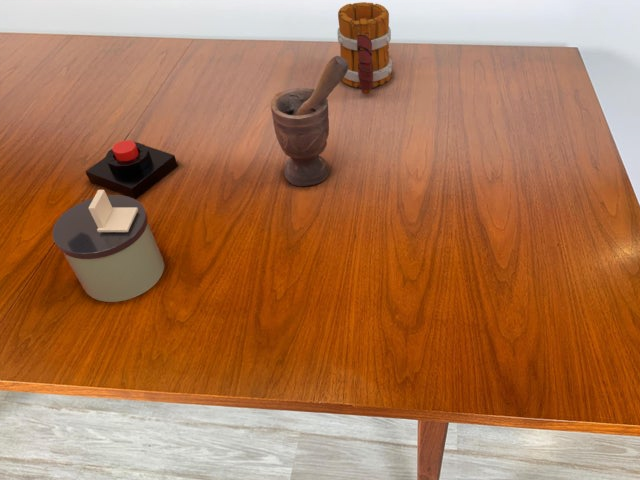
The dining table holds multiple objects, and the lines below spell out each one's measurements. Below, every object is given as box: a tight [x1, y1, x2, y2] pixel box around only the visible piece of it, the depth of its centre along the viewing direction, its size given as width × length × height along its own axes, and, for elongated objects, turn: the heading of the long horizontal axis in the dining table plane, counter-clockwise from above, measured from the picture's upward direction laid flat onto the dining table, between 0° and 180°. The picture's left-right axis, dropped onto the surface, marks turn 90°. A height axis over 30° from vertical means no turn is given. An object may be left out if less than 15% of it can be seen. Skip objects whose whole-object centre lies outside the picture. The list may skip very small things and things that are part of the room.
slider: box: [89, 189, 138, 232], centre depth 73 cm, size 4×4×4 cm
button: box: [111, 139, 139, 161], centre depth 93 cm, size 4×4×2 cm
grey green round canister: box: [52, 194, 165, 303], centre depth 78 cm, size 11×11×9 cm
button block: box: [85, 139, 179, 200], centre depth 95 cm, size 10×10×4 cm
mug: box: [337, 1, 393, 95], centre depth 111 cm, size 11×16×15 cm, turn 2°
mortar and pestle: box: [270, 55, 348, 187], centre depth 89 cm, size 12×9×20 cm
